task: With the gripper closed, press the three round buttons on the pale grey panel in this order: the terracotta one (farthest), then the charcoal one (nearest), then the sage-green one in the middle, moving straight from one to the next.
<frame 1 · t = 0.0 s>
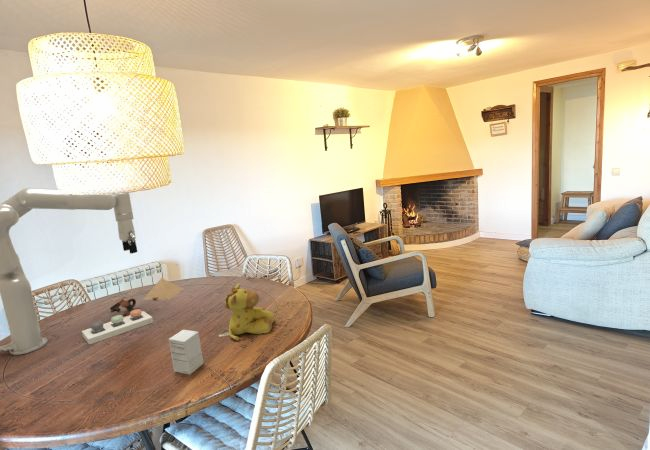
hand: (130, 251, 181), 31 cm above the table, tool pointing down, fingers open, 9 cm apart
button terracotta: (136, 314, 172), point 4 cm above the table, slide at 0.0 cm
panel: (118, 329, 168), on the table
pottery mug: (125, 313, 186), on the table
giraffe plush: (249, 328, 159), on the table
model pyramid: (163, 295, 209), on the table
supplement box: (189, 368, 132), on the table
button charcoal: (97, 327, 162), point 4 cm above the table, slide at 0.0 cm
button sage: (117, 321, 167), point 4 cm above the table, slide at 0.0 cm
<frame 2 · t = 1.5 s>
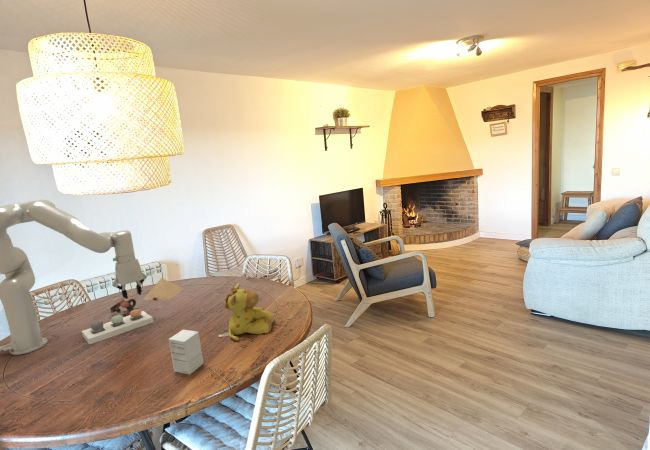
hand: (132, 295, 171), 13 cm above the table, tool pointing down, fingers open, 5 cm apart
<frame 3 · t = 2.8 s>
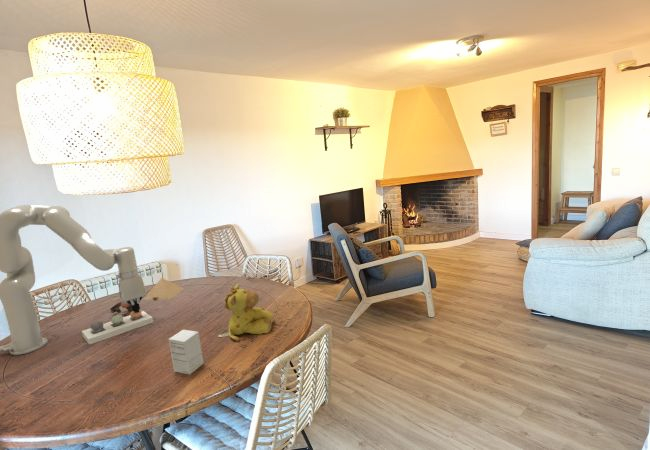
hand: (136, 311, 172), 5 cm above the table, tool pointing down, fingers closed
button terracotta: (136, 315, 173), point 3 cm above the table, slide at 0.5 cm, touching gripper
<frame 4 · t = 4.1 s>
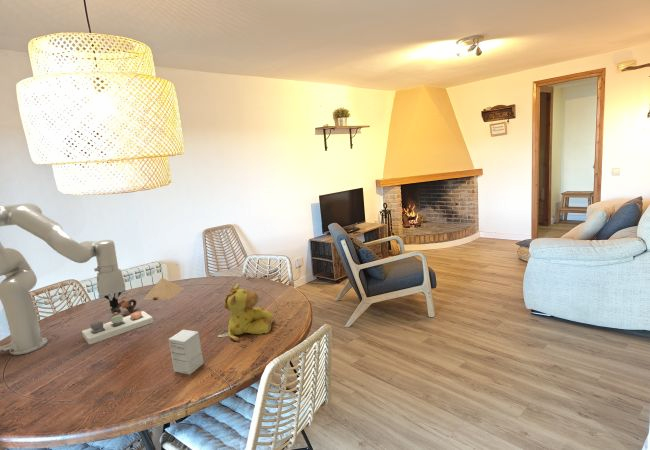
hand: (114, 307, 166), 10 cm above the table, tool pointing down, fingers closed
button terracotta: (136, 317, 173), point 3 cm above the table, slide at 1.2 cm
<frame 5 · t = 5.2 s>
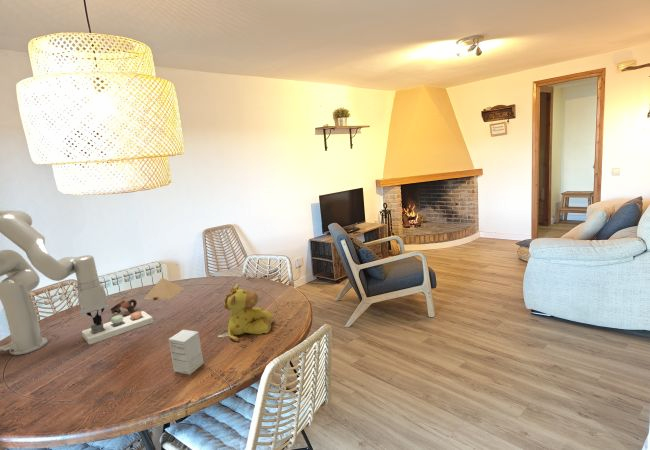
hand: (98, 324, 161), 5 cm above the table, tool pointing down, fingers closed
button charcoal: (97, 328, 162), point 3 cm above the table, slide at 0.4 cm, touching gripper
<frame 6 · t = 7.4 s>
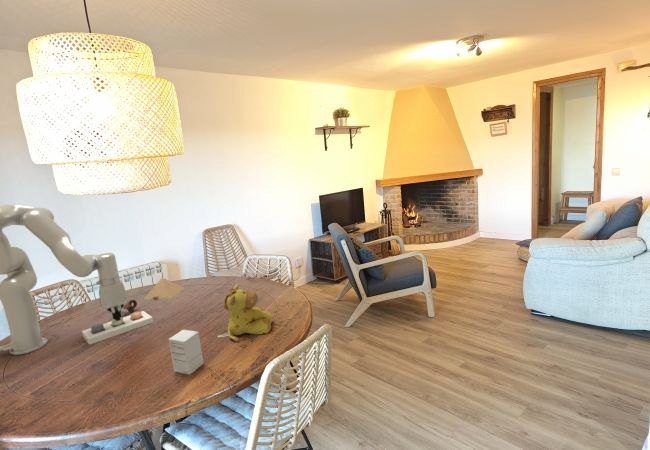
hand: (117, 319, 167), 5 cm above the table, tool pointing down, fingers closed
button charcoal: (97, 330, 162), point 3 cm above the table, slide at 1.2 cm
button sage: (117, 323, 167), point 3 cm above the table, slide at 1.2 cm, touching gripper
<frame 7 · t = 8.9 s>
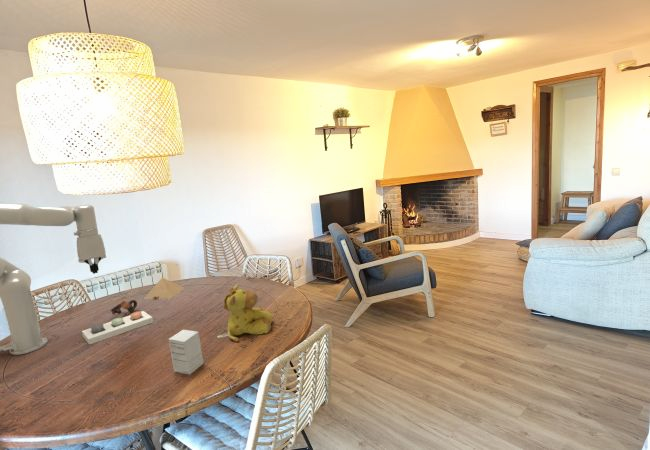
hand: (94, 272, 167), 26 cm above the table, tool pointing down, fingers closed
button sage: (117, 323, 167), point 3 cm above the table, slide at 1.2 cm
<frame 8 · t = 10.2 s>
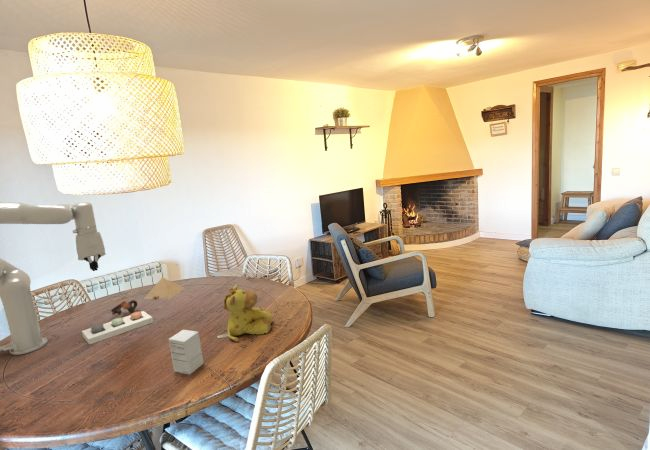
hand: (94, 270, 167), 27 cm above the table, tool pointing down, fingers closed
at the end: button terracotta slide at 1.2 cm; button charcoal slide at 1.2 cm; button sage slide at 1.2 cm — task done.
